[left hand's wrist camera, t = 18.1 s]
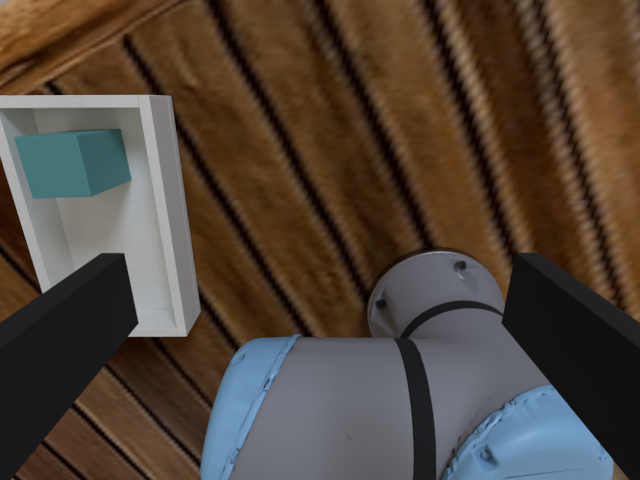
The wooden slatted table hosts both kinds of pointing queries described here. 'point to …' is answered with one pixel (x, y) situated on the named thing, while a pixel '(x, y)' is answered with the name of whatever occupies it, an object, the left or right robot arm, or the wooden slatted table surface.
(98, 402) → the wooden slatted table surface
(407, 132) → the wooden slatted table surface
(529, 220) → the wooden slatted table surface
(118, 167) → the block
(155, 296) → the tray
